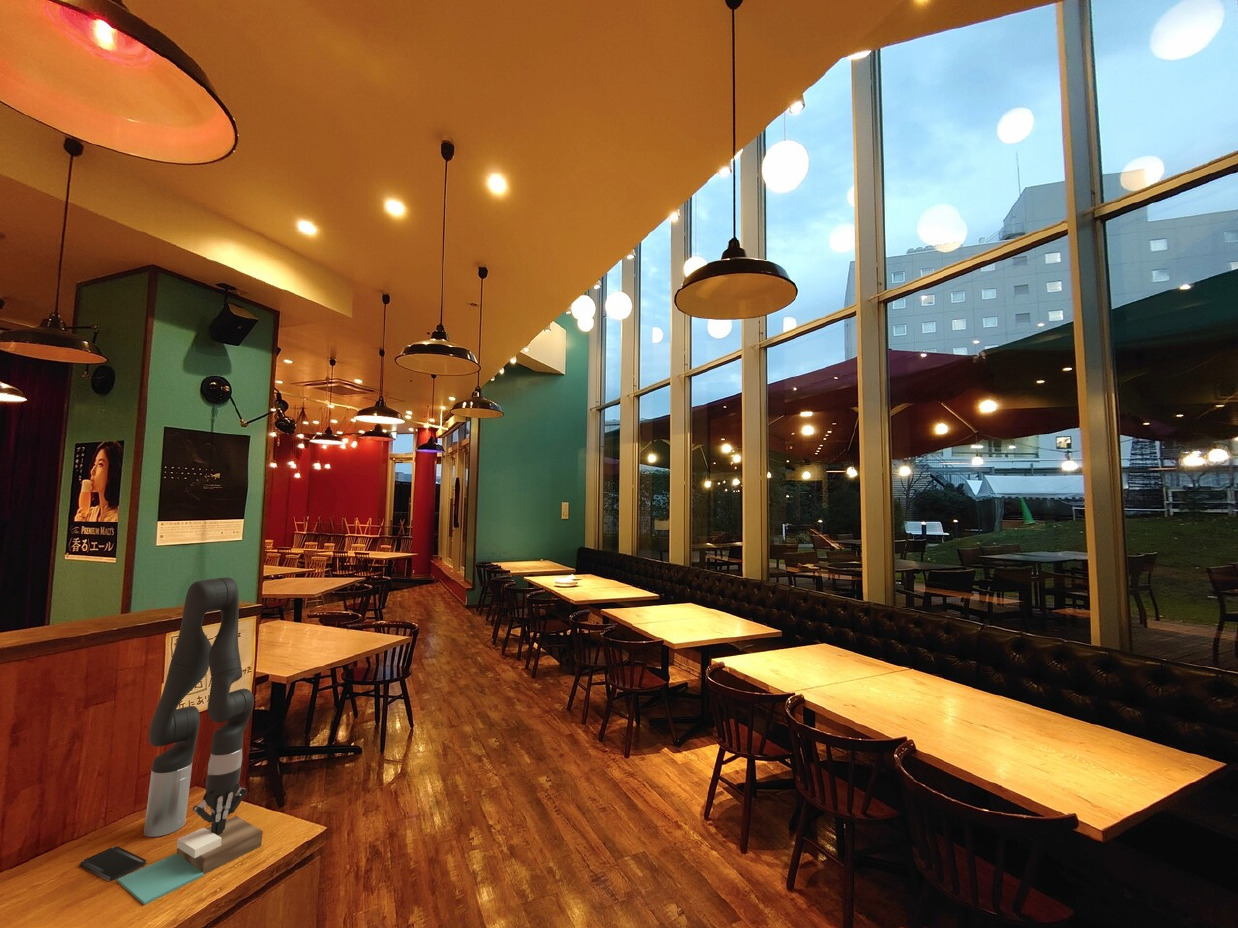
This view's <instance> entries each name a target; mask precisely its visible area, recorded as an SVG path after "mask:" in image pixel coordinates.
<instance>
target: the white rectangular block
mask: <svg viewBox="0 0 1238 928" xmlns="http://www.w3.org/2000/svg"><path fill="white" fill-rule="evenodd" d="M221 839H222V838H221V837H219V836H218V835H216V834H214V833H212V832H211V831H209V830H207V829H206V827H201V828H199V829H196V830H195V831H193V832H190V833H188V834H185V835H184V836H180V837H179V838H177V841H176V848H177V849H178V848H179V849H180V850H182V851H184V852H185V853H187V854H188V855H190V856H192V857H193V858H196V857H198V856H200V855H202V854H204V853H206V852H209V851H211V850H213V849H215V848H217V847H219V846H221Z"/></svg>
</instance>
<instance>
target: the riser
mask: <svg viewBox="0 0 1238 928" xmlns="http://www.w3.org/2000/svg"><path fill="white" fill-rule="evenodd" d="M205 829H207V830H209V831H211V826H209V827H205ZM263 833H264V830H262V829H261V828H259V827H257V826H255V825H254V824H252V823H250V822H248V821H246V820H245V819H243V818H241V817H239V816H238V815H235V816H232V817H230V818H226V825H225V829H224V830H223V833H221V834H219V835H218V836H219V837H221V838H222V839H221V846H219V847H217V848H215V849H213V850H211V851H209V852H206V853H204V854H202V855H200V856H198V857H196V858H193V857H192V856H190V855H188V854H187V853H185V852H184V851H182V850H180V849H179V848H177V850H176V854H178V855H179V856H181V857H182V858H183V859H185V860H186V861H188V862H189V863H190V864H192V865H193V866H195V867H196V868H197V869H199V870H200V871H201V872H203V873H204V875H206V874H207V873H209V872H212V871H213V870H216V869H218V868H220V867H222V866H223V865H226V864H228V863H230V862H232V861H234V860H236V859H239V858H240V857H242V856H244V855H247V854H249V853H250V852H252V851H255V850H256V849H258V848H261V847H262V845H263V844H262V841H263Z"/></svg>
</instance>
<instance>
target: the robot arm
mask: <svg viewBox="0 0 1238 928" xmlns="http://www.w3.org/2000/svg"><path fill="white" fill-rule="evenodd" d="M239 604H240V599H239V588H238V584H237V582H236V581H235V580H234V579H233V578H232V577H229V576H228V577H226V576H225V577H217V578H209V579H204V580H203V579H202V580H198V581H194V582H193V583H191V585H189V587H188V590H187V592H186V595H185V600H184V605H183V611H182V612H183V613H182V617H181V622H180V624H181V625H180V627H179V628H180V629H179V633H178V636H177V640H176V644H175V647H174V650H173V653H172V656H171V660H170V663H169V667H168V671H167V674H166V680H165V683H164V687H163V689H162V690H163V691H162V694H161V696H160V699H159V701H158V703H157V707H156V709H155V711H154V714H153V716H152V718H151V719H152V720H151V722H150V725H149V731H148V740H149V741H148V742H149V744H150V745H151V746H152V747H155V748H156V747H157V748H158V747H162V746H163V747H164V746H168V745H172V744H173V745H172V746H171V747H169V749H167V750H166V751H165V750H164V752H162V753H160V754H159V755H158V756H156V757H155V758H153V761H152V765H151V772H150V780H149V781H150V782H149V788H148V799H147V806H146V813H145V818H144V819H145V820H144V828H143V835H144V836H145V837H147V838H157V837H161V836H165V835H169V834H173V833H174V832H177V831H178V830H180V829H181V828H183V827H184V826H185V824H186V819H187V811H188V805H189V804H188V802H189V796H190V795H189V793H190V786H191V785H190V784H191V777H192V766H193V761H194V760H193V759H194V755H195V752H196V747H197V746H196V745H197V739H198V734H199V729H200V728H199V727H200V725H201V724H200V721H201V716H200V711H199V709H198V708H197V706H195V705H189V706H184V707H180V708H178V707H179V705H180V704H181V702H182V701H183V700H184V699H185V697H186V696H188V694H190V692H191V691H192V690H194V689H195V687H197V685H198V684H200V682H201V681H202V680H203V679H204V678H205V676H206V675H207V673H208V671H209V673H210V679H211V682H210V688H209V694H208V695H209V696H208V702H207V714H208V717H209V719H210V720H211V721H212V722H214V723H217V724H220V723H224V722H226V723H224V725H222V726H220V727H219V728H218V729H216V730H215V731H214V732H213V735H212V739H211V748H210V756H209V759H208V764H207V765H208V766H207V774H206V782H205V792H204V795H203V797H202V801H201V802H200V803H199V804H198V805H193V807H192V811H193V812H194V813H195V814H196V815H198V816H199V817H200V818H202V820H204V821H205V822H207V823H209V824H211V826H210V827H211V832H212V833H214V834H216V835H219V834H221V833H223V830H224V829H225V825H226V820H227V819H228V817H229V816H230V814H234V813H235V811H236V810H237V808H238V807H239V806H240V804H241V802H242V801H243V799H244V798H245V797H246V795H247V794H248V792H249V790H248V789H247V788H245V787H243V786H242V787H241V784H240V783H239V782H240V780H241V779H240V778H241V771H242V762H243V741H244V732H245V730H246V728H247V726H248V722H249V720H250V717H251V714H252V712H253V709H254V705H255V698H254V695H253V694H254V693H252V691H251V690H250V689H248V688H240V689H236V690H233V691H230V690H231V687H232V684H233V683H236V682H237V681H239V680H240V679H241V678H242V677H243V670H242V669H243V668H242V661H241V657H240V656H241V655H240V648H239V619H240V618H239V615H240V614H239V612H240V609H239V607H240V605H239ZM216 611H220V615H221V620H220V627H219V629H218V632H217V634H216V636H215V639H214V642H212V643H211V642H210V640H209V638H208V637H207V635H206V633H205V632H204V630H203V621H204V617H205V615H206V614H207V613H210V612H216ZM206 805H207V806H208V807H209V809H210V814H209V813H208V812H207V811H206V810H207V806H206Z"/></svg>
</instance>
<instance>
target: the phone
mask: <svg viewBox="0 0 1238 928" xmlns="http://www.w3.org/2000/svg"><path fill="white" fill-rule="evenodd" d="M145 865H147V860H146V859H145V858H143V857H140V856H138V855H137V854H135V853H133V852H131V851H128V850H126V849H124V848H122V847H120V846H117V845H115V846H112V847H109V848H107V849H105V850H102V851H100V852H97V853H96V854H93V855H92V856H89V857H86V858H85V859H83V860H81V861H80V862H79V867H80V868H83V869H84V870H86V871H88V872H89V873H91V874H94V875H95V876H97V877H99V878H101V879H103V880H105V881H107V882H115V881H116V880H117V881H118V879H119V878H121V877H124V876H126V875H128V874H130V873H133V872H135V871H137V870H139V869H142V868H144V866H145Z"/></svg>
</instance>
